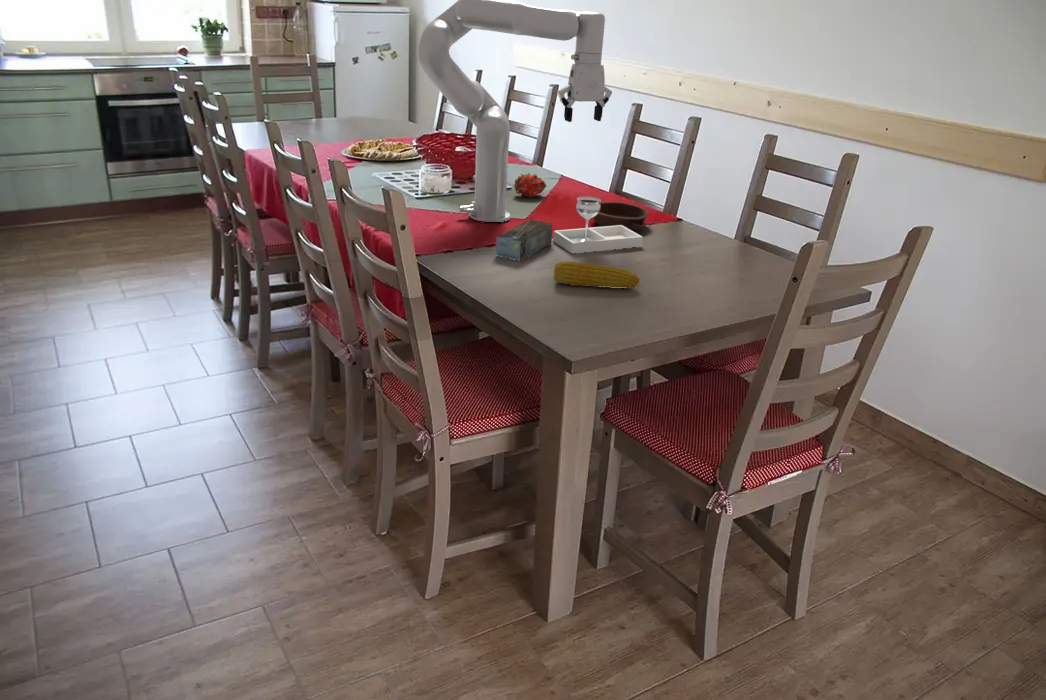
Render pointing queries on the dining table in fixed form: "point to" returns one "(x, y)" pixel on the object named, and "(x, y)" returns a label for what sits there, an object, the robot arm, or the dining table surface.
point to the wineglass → (587, 210)
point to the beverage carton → (524, 239)
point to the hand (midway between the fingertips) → (582, 120)
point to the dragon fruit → (529, 185)
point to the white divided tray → (597, 239)
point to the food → (593, 275)
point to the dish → (621, 215)
